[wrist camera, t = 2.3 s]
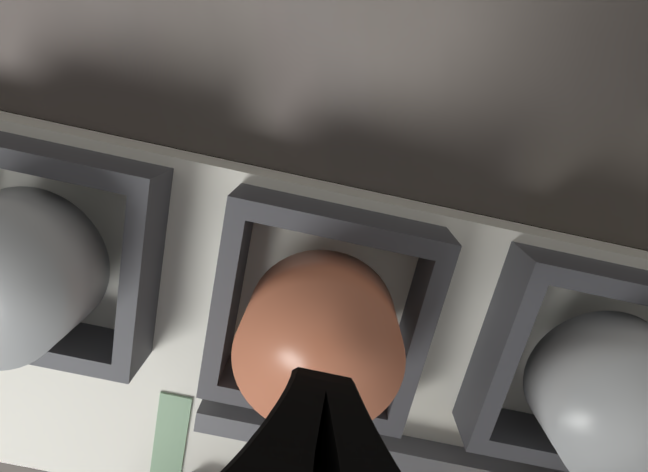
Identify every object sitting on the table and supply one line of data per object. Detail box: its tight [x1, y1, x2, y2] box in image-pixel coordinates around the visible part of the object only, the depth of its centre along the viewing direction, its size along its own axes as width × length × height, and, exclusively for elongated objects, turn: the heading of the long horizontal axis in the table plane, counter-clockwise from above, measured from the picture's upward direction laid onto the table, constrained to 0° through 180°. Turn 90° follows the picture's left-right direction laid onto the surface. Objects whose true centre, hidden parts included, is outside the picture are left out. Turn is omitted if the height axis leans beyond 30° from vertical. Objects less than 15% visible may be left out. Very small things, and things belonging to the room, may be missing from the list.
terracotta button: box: [231, 250, 406, 420], centre depth 14 cm, size 5×5×2 cm
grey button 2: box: [0, 186, 110, 371], centre depth 13 cm, size 5×5×2 cm
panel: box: [0, 111, 648, 472], centre depth 17 cm, size 14×32×4 cm, turn 78°
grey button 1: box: [523, 311, 648, 472], centre depth 14 cm, size 5×5×2 cm
